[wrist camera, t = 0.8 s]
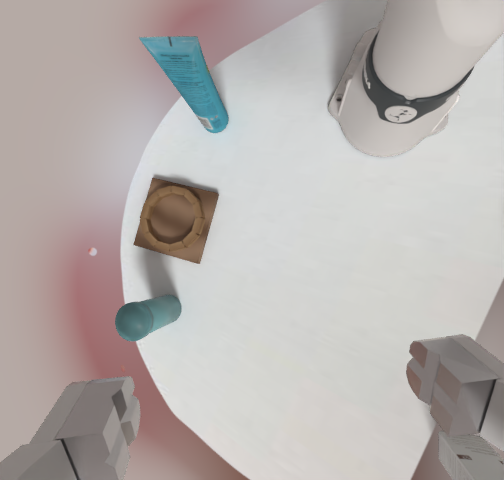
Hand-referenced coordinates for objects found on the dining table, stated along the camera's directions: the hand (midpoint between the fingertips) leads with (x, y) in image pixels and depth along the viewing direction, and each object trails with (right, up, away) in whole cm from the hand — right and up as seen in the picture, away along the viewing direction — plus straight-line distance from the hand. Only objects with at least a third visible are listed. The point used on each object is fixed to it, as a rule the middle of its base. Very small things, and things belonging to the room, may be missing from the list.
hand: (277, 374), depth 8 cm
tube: (-8, +26, +43) cm, 51 cm away
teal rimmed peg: (-16, -9, +42) cm, 46 cm away
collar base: (-15, +8, +43) cm, 46 cm away
